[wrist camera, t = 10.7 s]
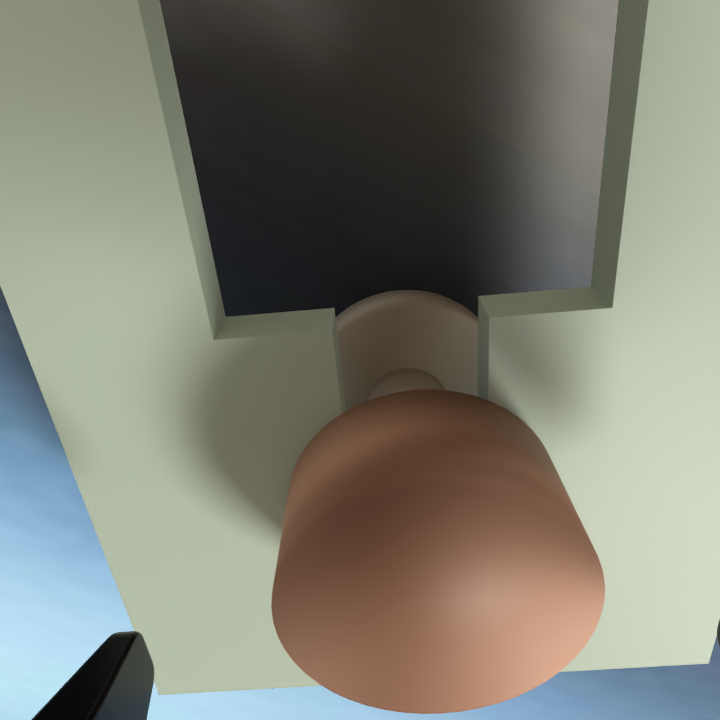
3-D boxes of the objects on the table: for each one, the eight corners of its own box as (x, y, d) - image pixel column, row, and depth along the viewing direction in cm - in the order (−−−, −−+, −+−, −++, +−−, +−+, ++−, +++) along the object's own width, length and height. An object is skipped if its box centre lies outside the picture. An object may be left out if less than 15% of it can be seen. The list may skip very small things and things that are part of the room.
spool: (502, 281, 15) (624, 467, 8) (498, 451, 17) (589, 705, 10) (296, 298, 15) (243, 494, 8) (320, 463, 17) (295, 721, 10)
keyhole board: (714, -273, 11) (1064, -601, 5) (609, 493, 19) (708, 663, 14) (26, -192, 11) (-274, -420, 6) (214, 520, 19) (159, 694, 14)
